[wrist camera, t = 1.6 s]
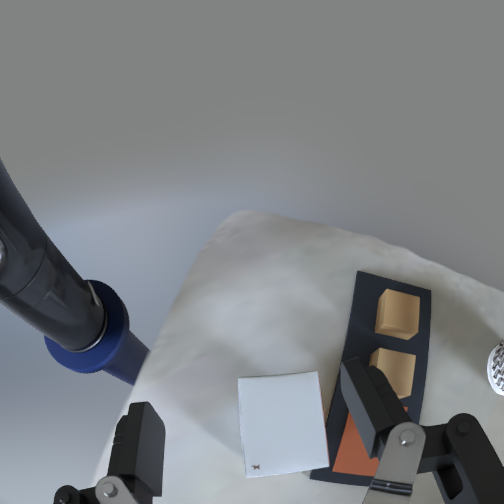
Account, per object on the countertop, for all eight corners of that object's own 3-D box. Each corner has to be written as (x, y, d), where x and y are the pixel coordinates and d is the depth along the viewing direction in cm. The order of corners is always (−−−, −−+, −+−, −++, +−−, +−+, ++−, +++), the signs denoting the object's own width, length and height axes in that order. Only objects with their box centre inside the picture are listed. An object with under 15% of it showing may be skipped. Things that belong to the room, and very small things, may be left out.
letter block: (374, 332, 36) (382, 324, 34) (378, 298, 39) (386, 288, 37) (407, 340, 36) (418, 332, 33) (410, 306, 38) (420, 297, 36)
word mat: (309, 478, 27) (310, 479, 27) (356, 272, 42) (358, 269, 41) (401, 487, 25) (403, 488, 25) (429, 291, 40) (431, 289, 39)
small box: (302, 457, 29) (331, 468, 18) (245, 462, 28) (243, 479, 17) (295, 391, 33) (319, 368, 22) (240, 396, 33) (235, 376, 22)
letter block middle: (363, 392, 32) (372, 388, 30) (370, 354, 35) (379, 347, 32) (399, 399, 31) (410, 395, 29) (405, 361, 34) (416, 355, 32)
